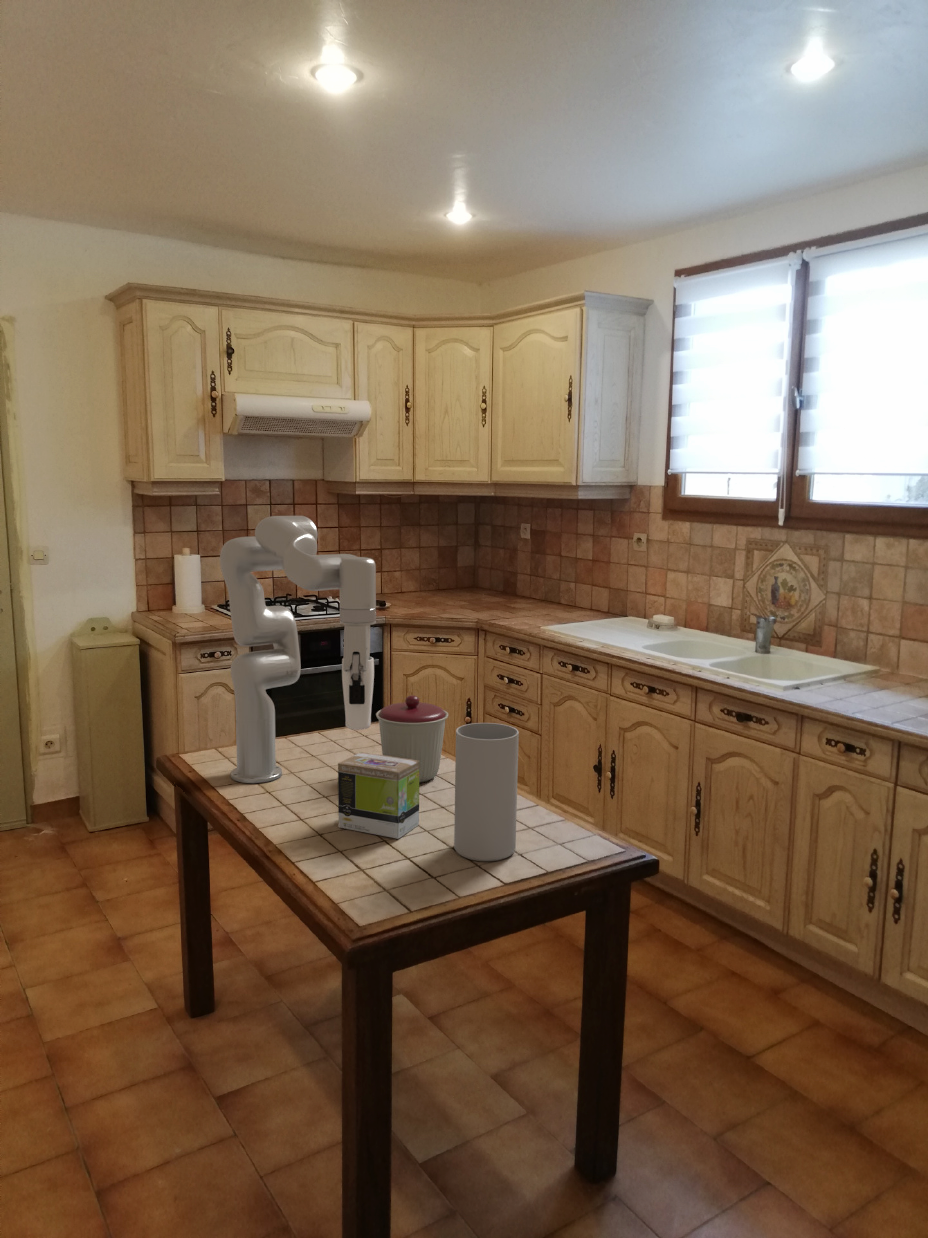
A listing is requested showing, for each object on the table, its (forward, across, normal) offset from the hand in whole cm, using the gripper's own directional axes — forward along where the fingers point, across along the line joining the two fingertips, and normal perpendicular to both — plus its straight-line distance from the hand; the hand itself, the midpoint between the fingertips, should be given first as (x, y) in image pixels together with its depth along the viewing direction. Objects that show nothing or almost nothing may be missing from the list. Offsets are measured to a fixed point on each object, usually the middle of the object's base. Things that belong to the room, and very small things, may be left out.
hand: (358, 699), depth 191 cm
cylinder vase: (+29, +13, +26) cm, 41 cm away
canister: (+28, -32, +11) cm, 44 cm away
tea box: (+28, +1, +4) cm, 29 cm away
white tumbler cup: (+6, 0, 0) cm, 6 cm away
